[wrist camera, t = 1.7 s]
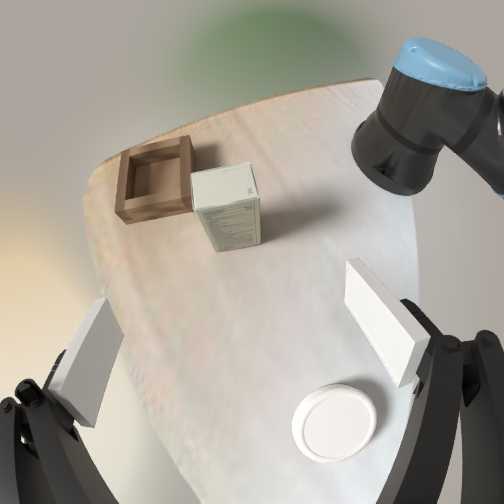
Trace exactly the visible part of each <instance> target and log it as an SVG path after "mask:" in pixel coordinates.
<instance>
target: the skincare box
mask: <svg viewBox="0 0 504 504" xmlns="http://www.w3.org/2000/svg"><path fill="white" fill-rule="evenodd" d="M191 192H192V204H193V210H194V212H195V214H196V216H197V218H198V220H199V222H200V223H201V226H202V228H203V229H204V231H205V233H206V235H207V237H208V239H209V241H210V243H211V245H212V247H213V249H214V251H215V252H221V251H228V250H233V249H239V248H244V247H250V246H254V245H259V244H261V226H260V195H259V190H258V186H257V182H256V177H255V174H254V170H253V167H252V164H251V162H246V163H239V164H233V165H228V166H222V167H218V168H213V169H208V170H204V171H199V172H195V173H192V174H191Z"/></svg>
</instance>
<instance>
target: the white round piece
mask: <svg viewBox="0 0 504 504" xmlns="http://www.w3.org/2000/svg"><path fill="white" fill-rule="evenodd" d="M376 425H377V411H376V408H375V405H374V403H373V401H372V400H371V399H370V397H369V396H368V395H367V394H365V393H364V392H362V391H361V390H359V389H356V388H353V387H351V386H348V385H343V384H333V385H327V386H324V387H321V388H319V389H317V390H315V391H314V392H312V393H311V394H309V395H308V396H307V397H306V398H305V399H304V400H303V401H302V402H301V403H300V405H299V406H298V408H297V410H296V412H295V414H294V417H293V421H292V432H293V436H294V438H295V441H296V443H297V445H298V447H299V449H300V450H301V451H302V452H303V453H304V454H305V455H306V456H307V457H309V458H311V459H313V460H315V461H318V462H323V463H335V462H340V461H343V460H346V459H348V458H351V457H352V456H354V455H356V454H357V453H358V452H360V451H361V450H362V449H363V448H364V447H365V446H366V445H367V444H368V443H369V441H370V440H371V438H372V436H373V434H374V432H375V429H376Z"/></svg>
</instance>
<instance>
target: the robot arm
mask: <svg viewBox="0 0 504 504" xmlns="http://www.w3.org/2000/svg"><path fill="white" fill-rule="evenodd" d="M393 65H394V66H393V68H392V71H391V74H390V77H389V79H388V82H387V84H386V87H385V89H384V92H383V94H382V97H381V99H380V102H379V104H378V107H377V109H376V110H375V111H374V112H373V113H372V114H371V115H370V116H369V117H368V118H367V119H366V120H365V121H364V122H362V123H361V124H360V125H359V126H358V128H357V129H356V132H355V134H354V137H353V139H352V143H351V149H352V154H353V157H354V159H355V162H356V163H357V165H358V167H359V168H360V169H361V171H362V172H363V173H364V174H365V175H366V176H367V177H368V178H369V179H370V180H371V181H372V182H374V183H375V184H376V185H378V186H379V187H381V188H383V189H385V190H387V191H389V192H391V193H394V194H398V195H414V194H417V193H419V192H420V191H422V190H423V189H424V188H425V187H426V185H427V184H428V183H429V182H430V180H431V178H432V176H433V172H434V167H435V164H436V161H437V157H438V154H439V152H440V150H441V149H442V148H443V146H444V145H446V146H447V147H448V148H450V149H451V150H452V151H453V152H454V153H456V154H457V155H458V156H459V157H460V158H461V159H463V160H464V161H465V162H466V163H467V164H468V165H469V166H470V167H471V168H473V169H474V170H475V171H476V172H477V173H478V174H479V175H480V176H481V177H482V178H483V179H484V180H485V181H486V182H487V183H488V184H489V185H490V186H491V188H492V189H493V191H494V192H495V193H496V194H498V195H499V196H500V197H502V198H503V199H504V89H503V90H502V91H501V93H500V94H499V95H497V94H495V93H494V92H493V91H492V90H491V89H490V88H488V87H487V76H486V74H485V73H484V71H483V70H482V69H481V68H480V67H479V66H478V65H477V64H475V63H474V62H473V61H472V60H471V59H469V58H468V57H467V56H465V55H464V54H462V53H460V52H459V51H457V50H455V49H453V48H451V47H450V46H447V45H445V44H443V43H440V42H437V41H434V40H431V39H427V38H421V37H414V38H409V39H407V40H406V41H405V42H404V43H403V45H402V47H401V49H400V51H399V53H398V55H397V57H396V58H395V59H394V61H393ZM344 303H345V304H346V306H347V307H348V309H349V310H350V312H351V314H352V315H353V317H354V318H355V320H356V321H357V323H358V324H359V326H360V327H361V329H362V331H363V332H364V334H365V335H366V337H367V338H368V340H369V342H370V343H371V345H372V346H373V348H374V350H375V351H376V353H377V355H378V356H379V358H380V359H381V361H382V363H383V364H384V366H385V368H386V369H387V371H388V373H389V374H390V376H391V378H392V379H393V381H394V383H395V384H396V386H397V388H399V387H402V386H404V385H406V384H409V383H411V382H412V381H413V379H414V377H415V374H417V375H418V377H419V378H420V380H419V383H418V384H417V386H416V388H415V390H414V392H413V394H415V393H416V395H415V398H414V402H413V406H412V410H411V413H410V417H409V420H408V424H407V427H406V430H405V433H404V436H403V439H402V442H401V445H400V448H399V451H398V454H397V456H396V459H395V462H394V464H393V467H392V469H391V472H390V474H389V476H388V479H387V481H386V483H385V485H384V488H383V490H382V492H381V494H380V496H379V498H378V500H377V502H376V504H437V501H438V498H439V496H440V493H441V490H442V486H443V484H444V480H445V477H446V474H447V470H448V466H449V462H450V458H451V454H452V449H453V445H454V440H455V435H456V429H457V423H458V417H459V411H460V420H461V433H462V454H463V455H462V459H463V464H462V466H463V467H462V470H463V471H462V492H461V504H504V352H503V349H502V346H501V343H500V341H499V339H498V337H497V335H495V334H494V333H493V332H491V331H488V330H482V331H479V332H478V333H477V335H476V337H475V339H474V340H472V341H464V342H461V341H460V340H459V339H458V338H456V337H454V336H451V335H443V334H442V333H441V332H440V331H439V329H438V328H437V327H436V326H435V325H434V324H433V323H432V322H431V321H430V320H429V318H428V317H426V315H425V314H424V313H423V312H422V311H421V310H420V308H419V307H418V306H417V305H416V304H415V303H413V302H411V301H410V300H408V299H402V300H399V299H398V298H397V297H396V296H395V295H394V294H393V293H392V292H391V291H390V290H389V289H388V288H387V286H386V285H385V284H384V283H383V282H382V281H381V280H380V279H379V278H378V277H377V276H376V275H375V274H374V273H373V272H372V271H371V270H370V269H369V268H368V266H367V265H366V264H365V263H364V262H363V261H362V260H361V259H360V258H357V259H351V260H347V263H346V283H345V298H344ZM123 337H124V334H123V332H122V330H121V328H120V326H119V324H118V322H117V320H116V318H115V315H114V313H113V311H112V309H111V306H110V304H109V302H108V300H107V298H99V299H95V301H94V303H93V304H92V306H91V307H90V309H89V311H88V313H87V314H86V316H85V318H84V319H83V321H82V323H81V325H80V326H79V328H78V330H77V332H76V333H75V335H74V337H73V339H72V341H71V342H70V344H69V346H68V348H67V349H65V350H64V351H63V352H62V353H61V354H60V355H59V356H58V358H57V360H56V362H55V365H54V366H53V368H52V371H51V372H50V374H49V376H48V378H47V380H46V382H45V384H44V386H43V388H42V390H41V389H40V387H39V386H38V385H37V384H36V383H35V381H34V380H32V379H25V380H23V381H22V382H20V383H19V385H18V386H17V387H16V390H15V396H16V397H17V398H18V399H19V400H20V402H21V404H18V403H17V402H16V401H15V400H14V399H13V398H12V397H7V398H5V399H3V400H2V401H1V403H0V504H119V503H118V501H117V500H116V499H115V497H114V496H113V494H112V493H111V491H110V490H109V488H108V486H107V485H106V483H105V481H104V480H103V478H102V476H101V475H100V473H99V471H98V470H97V468H96V466H95V464H94V463H93V461H92V459H91V457H90V455H89V453H88V451H87V449H86V447H85V446H84V443H83V441H82V439H81V437H80V435H79V433H78V430H77V429H76V427H75V426H74V425H73V423H74V420H76V421H77V422H78V423H79V424H80V425H81V426H85V427H92V428H94V427H95V424H96V420H97V416H98V412H99V409H100V406H101V402H102V399H103V396H104V392H105V389H106V386H107V383H108V380H109V377H110V374H111V370H112V368H113V365H114V362H115V359H116V356H117V353H118V350H119V348H120V345H121V342H122V340H123ZM21 437H23V438H24V439H25V443H22V442H21Z"/></svg>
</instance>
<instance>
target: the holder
mask: <svg viewBox="0 0 504 504" xmlns="http://www.w3.org/2000/svg"><path fill="white" fill-rule="evenodd" d="M192 173H195V156H194V149H193V146H192V142H191V139H190V136H189V135H187V136H182V137H177V138H173V139H168V140H164V141H160V142H155V143H151V144H147V145H143V146H140V147H136V148H132V149H129V150H125V151H122V154H121V161H120V168H119V176H118V184H117V194H116V204H115V213H116V214H117V215H118V216H119V217H120V218H121V219H122V220H123V221H124V222H125V223H126V224H132V223H136V222H141V221H146V220H151V219H156V218H161V217H166V216H171V215H177V214H182V213H188V212H193V211H194V210H193V204H192V192H191V174H192Z"/></svg>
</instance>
